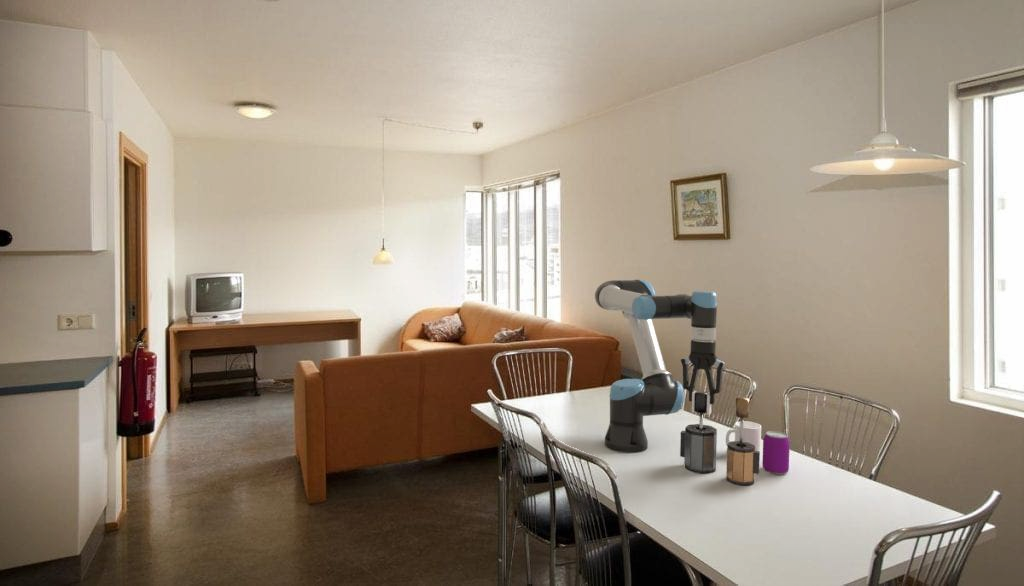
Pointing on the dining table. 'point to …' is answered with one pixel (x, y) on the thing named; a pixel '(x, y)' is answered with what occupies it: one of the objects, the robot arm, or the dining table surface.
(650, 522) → the dining table surface
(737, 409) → the plunger
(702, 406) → the plunger
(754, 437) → the cup
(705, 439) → the carafe
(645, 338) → the robot arm
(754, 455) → the carafe
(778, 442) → the beverage can
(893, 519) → the dining table surface
